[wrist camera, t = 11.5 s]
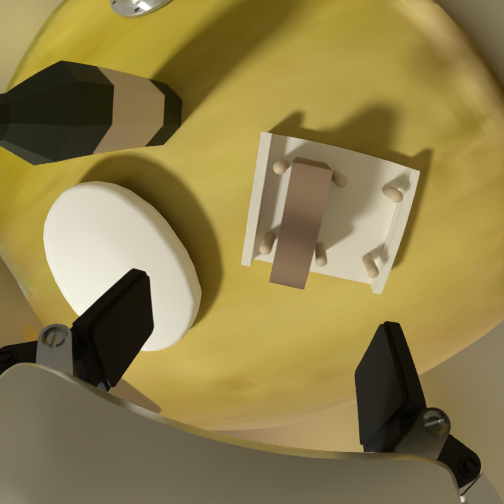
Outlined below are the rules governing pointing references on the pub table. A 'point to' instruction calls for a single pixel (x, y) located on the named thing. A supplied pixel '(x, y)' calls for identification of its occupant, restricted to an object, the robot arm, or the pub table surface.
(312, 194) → the walnut board
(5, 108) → the wine bottle
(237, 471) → the robot arm
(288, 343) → the pub table surface
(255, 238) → the rack
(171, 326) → the plate
